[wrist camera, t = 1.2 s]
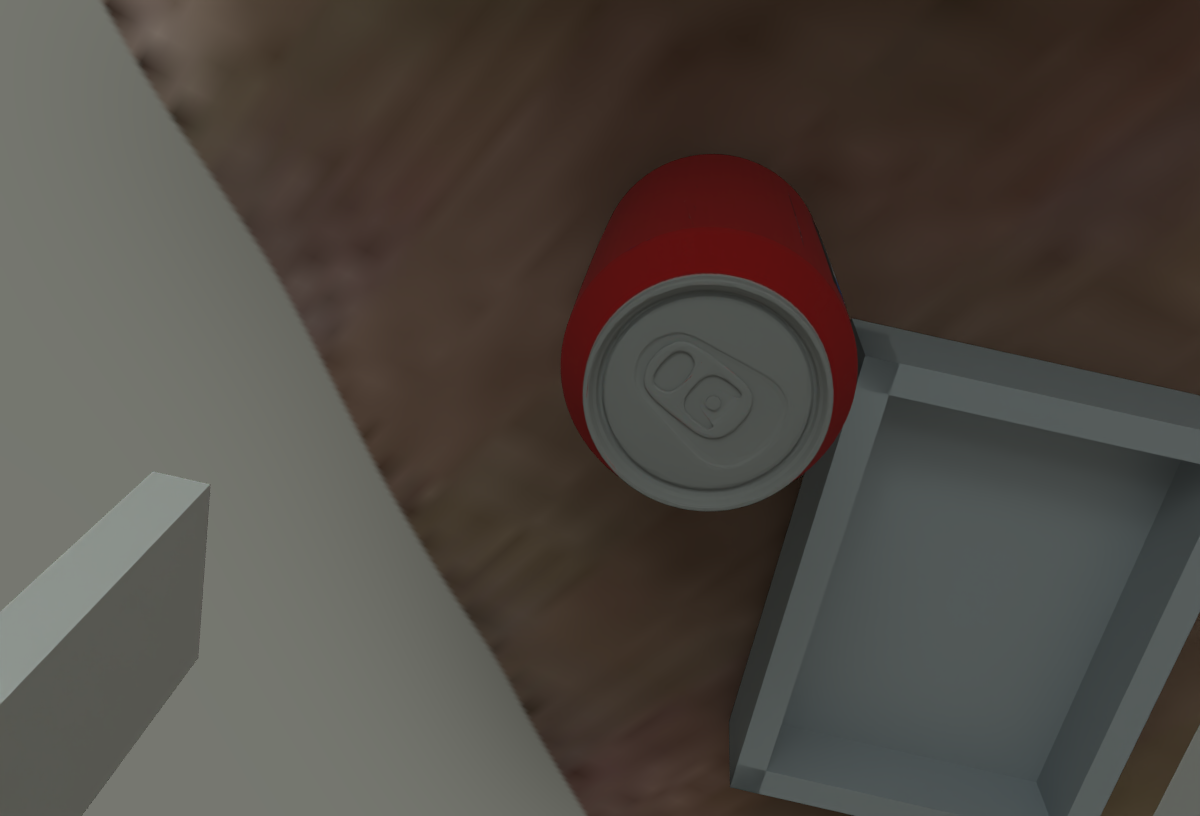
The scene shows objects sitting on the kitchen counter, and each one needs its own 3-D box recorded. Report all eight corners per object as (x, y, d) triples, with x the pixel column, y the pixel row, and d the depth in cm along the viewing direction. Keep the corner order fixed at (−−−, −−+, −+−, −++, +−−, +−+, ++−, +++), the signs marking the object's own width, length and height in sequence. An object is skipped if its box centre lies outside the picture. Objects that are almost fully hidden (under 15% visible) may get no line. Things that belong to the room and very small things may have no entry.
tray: (851, 318, 35) (865, 355, 32) (1227, 401, 35) (1279, 447, 32) (728, 721, 41) (730, 787, 38) (1047, 794, 41) (1075, 866, 38)
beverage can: (722, 400, 37) (724, 594, 26) (559, 271, 36) (487, 416, 24) (866, 243, 34) (937, 383, 23) (697, 100, 33) (686, 176, 22)
